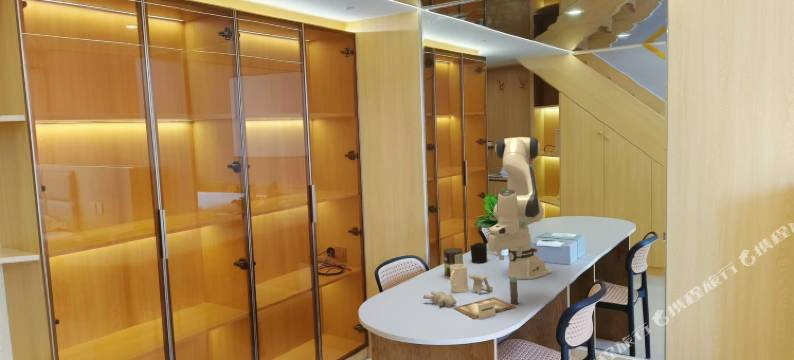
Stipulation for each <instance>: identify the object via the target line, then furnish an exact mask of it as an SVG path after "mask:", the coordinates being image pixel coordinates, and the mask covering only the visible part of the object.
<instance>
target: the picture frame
mask: <svg viewBox="0 0 794 360" xmlns="http://www.w3.org/2000/svg"><path fill="white" fill-rule="evenodd" d="M491 301H495V314H499V313H502V312H503V313H504V312H505V311H510V310H512V309H516V308H517V306H515V305H514V304H511V303H508V302H506V301H504V300H502V299H499V298H496V297H489V298H485V299H482V300H481V299H480V300H478V301H475V302H470V303H467V304H463V305H458V306H455V307H453V310H455V311H457V312H459V313H461V314H463V315H465V316H466V317H469V318H471V319H472V320H476V319H479V311H478V305H479V304H483V303H487V302H491Z"/></svg>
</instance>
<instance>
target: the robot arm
mask: <svg viewBox="0 0 794 360" xmlns="http://www.w3.org/2000/svg"><path fill="white" fill-rule="evenodd" d="M494 150H495V153H496V157H498V159H502V168H503V171H504V172H505V173H506V174H507V189H504V190H501V191H499V192H498V196H497V202H496V203H495V205H494V207H493V217H494V218H495V219H496V221H497V223H495V224H494V225H492V226H490V227H489V228H488V232H489V235H488V237H487V238H488V240H487V241H488V243H487V247H488V249H489V251H491V252H496V255H498V260H499V261H504V260H505V256H504V255H502V251H505V250H508V259H509V263H508V269H507V277H509V278H510V277H517V280H536V279H537V278H541V277H544V276H546V275H549V274H552V273H551V270H550V269H548V268H546V264H545V261H544V260H543V259H541V258H540V257H539V256H537V255H536V254H535V253H538V252H539V250H538V248H536V247H534V248H533V247H532V243H531V242H532V241H531V233H530V230H529V226H528V225H526V224H524V223H528V224H531V223H537V222H541V221H542V219H543V217H544V214H545V213H544V212H545V211H544V207H543V205H542V204H541V201H540V198H539V196H538V195H539V194H538V189H537V182H536V177H535V172H534V169H533V166H531V165H530V161H531V162H533V160H534V159H536V158H537V157H539V154H540V151H541V144H540V140H539V139H538V138H537V137H532V136H530V137H525V136H518V137H516V136H515V137H507V138H505V137H503V138H499V139H498V140H497V141H496V142H495V147H494ZM529 159H530V161H529ZM520 223H523V224H522V225H521V224H520Z"/></svg>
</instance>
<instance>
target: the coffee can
mask: <svg viewBox="0 0 794 360" xmlns="http://www.w3.org/2000/svg"><path fill="white" fill-rule="evenodd" d="M442 252H443V263H444V277H445V278H446V279H449V280H450V277H451V274H450V266H451V265H454V264H464V256H463V255H464V254H463V252H464V250H463V248H459V247H449V248H445V249H443V251H442Z"/></svg>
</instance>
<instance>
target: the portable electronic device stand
mask: <svg viewBox="0 0 794 360" xmlns="http://www.w3.org/2000/svg"><path fill="white" fill-rule="evenodd" d="M469 279H471V280H473V286H472V290H471V293H472V294H475V293H476V292H477V295H481V291H483V290H484V291H487V292H488V291H489V292H493V291H494V287H493V286H492V285H490V284H489V281H488V279H487V277H486V276H482V275H477V274H472V273H471V274H469ZM483 282H484V284H485V286H484V284H483Z"/></svg>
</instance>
